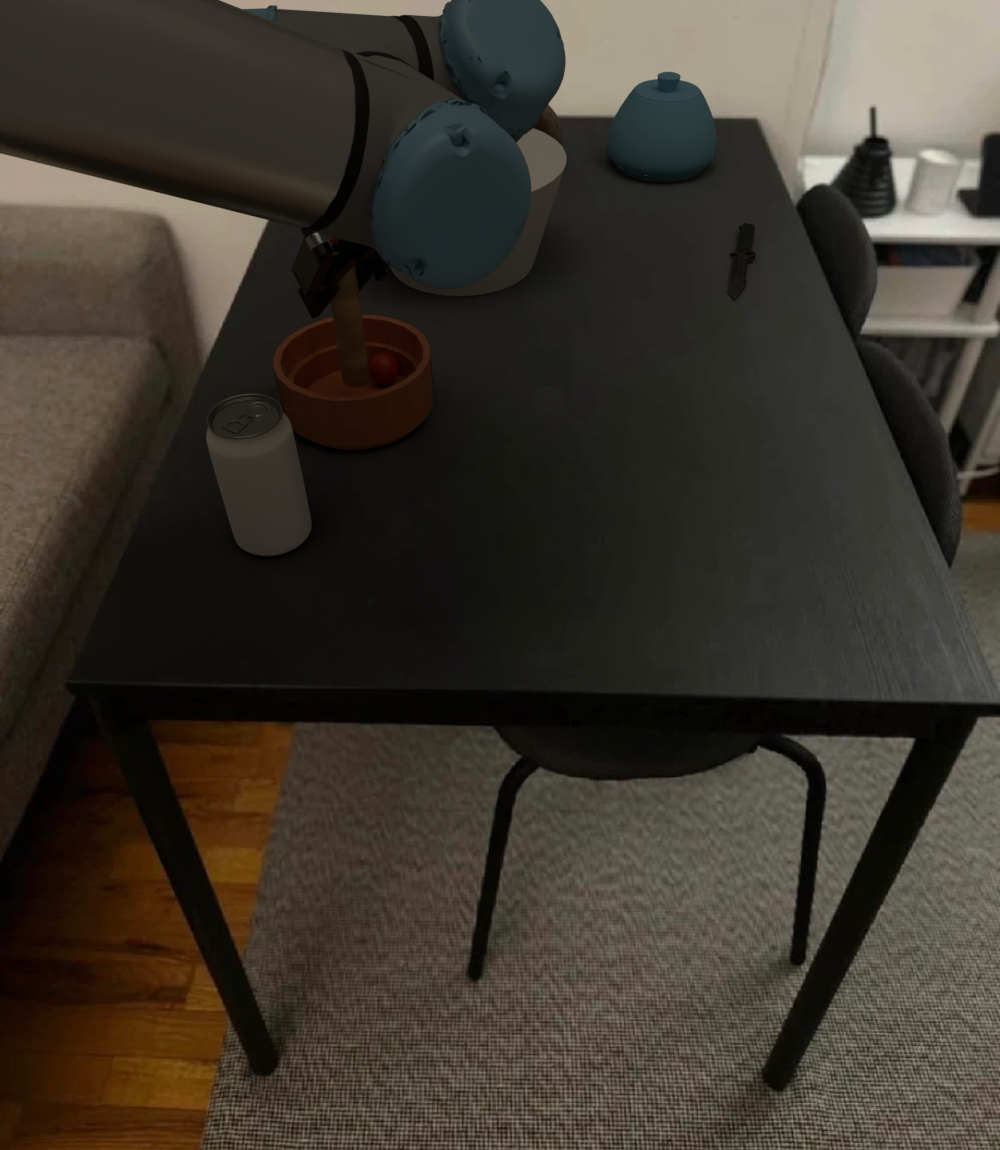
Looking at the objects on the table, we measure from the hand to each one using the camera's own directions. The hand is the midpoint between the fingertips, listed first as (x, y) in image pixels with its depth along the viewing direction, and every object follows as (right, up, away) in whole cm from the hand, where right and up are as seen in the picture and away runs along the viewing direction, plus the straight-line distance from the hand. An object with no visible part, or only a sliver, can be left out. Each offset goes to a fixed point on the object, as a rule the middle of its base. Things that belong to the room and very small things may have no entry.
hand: (324, 297), depth 86 cm
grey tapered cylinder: (+12, +12, +26) cm, 31 cm away
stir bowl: (+3, -9, +5) cm, 11 cm away
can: (-3, -22, -7) cm, 23 cm away
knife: (+45, +11, +25) cm, 52 cm away
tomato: (+5, -5, +6) cm, 9 cm away
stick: (+3, -7, +3) cm, 8 cm away
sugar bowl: (+38, +32, +46) cm, 68 cm away
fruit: (+20, +31, +45) cm, 58 cm away
